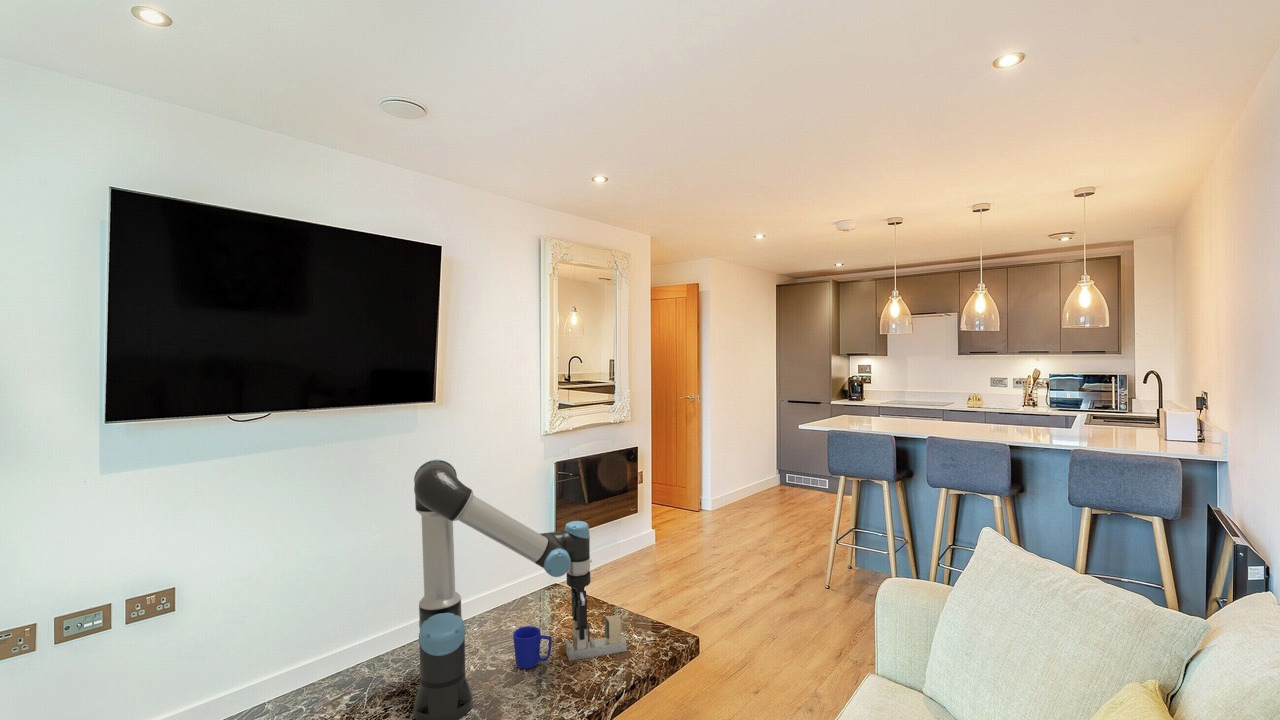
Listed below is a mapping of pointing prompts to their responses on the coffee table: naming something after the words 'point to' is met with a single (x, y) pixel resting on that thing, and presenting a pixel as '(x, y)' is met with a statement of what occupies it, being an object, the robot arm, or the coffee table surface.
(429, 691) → the robot arm
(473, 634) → the coffee table surface
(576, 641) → the tan cardboard carton
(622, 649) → the rail
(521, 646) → the mug
